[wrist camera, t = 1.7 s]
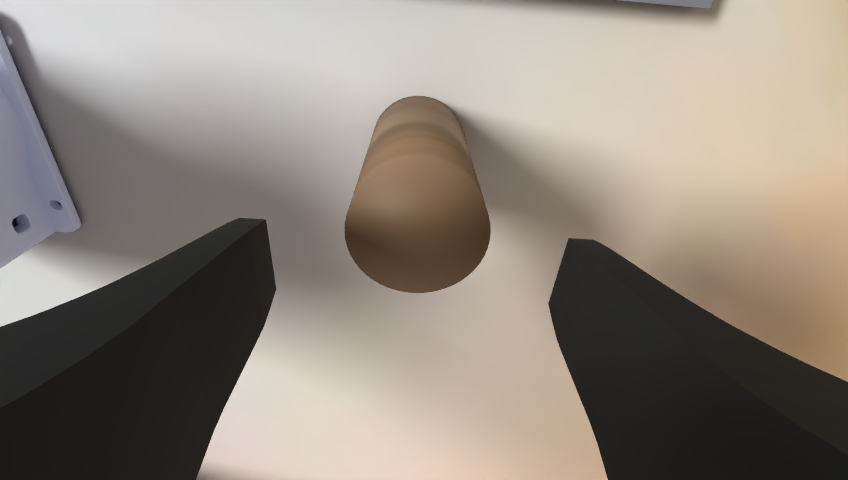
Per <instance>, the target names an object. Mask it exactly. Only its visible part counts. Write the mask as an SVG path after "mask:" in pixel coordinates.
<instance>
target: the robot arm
mask: <svg viewBox="0 0 848 480" xmlns="http://www.w3.org/2000/svg"><path fill="white" fill-rule="evenodd" d="M57 201H58V202H59V203H60V204H61V205H62V206H61V205H60V204H58V203H57ZM80 226H81V222H80V219H79V217H78V214H77V212H76V209H75V207H74V205H73V202H72V200H71V198H70V195H69V193H68V190H67V188H66V186H65V183H64V181H63V178H62V176H61V174H60V171H59V169H58V167H57V164H56V162H55V159H54V157H53V155H52V152H51V150H50V147H49V145H48V143H47V140H46V138H45V136H44V133H43V131H42V128H41V126H40V124H39V121H38V119H37V116H36V114H35V112H34V109H33V107H32V105H31V102H30V100H29V97H28V95H27V93H26V90H25V88H24V85H23V83H22V81H21V78H20V76H19V74H18V71H17V69H16V66H15V64H14V62H13V59H12V57H11V54H10V52H9V50H8V47H7V45H6V43H5V40H4V38H3V35H2V33H1V31H0V268H2V267H3V266H5V265H6V264H8V263H9V262H11V261H12V260H14V259H15V258H17V257H18V256H20V255H21V254H23V253H24V252H26V251H27V250H29V249H30V248H32V247H33V246H35V245H36V244H38V243H39V242H41V241H42V240H44V239H45V238H47V237H49V236H50V235H52V234H53V233H55V232H67V233H70V232H74V231H75V230H77V229H78V228H80ZM275 291H276V285H275V279H274V272H273V265H272V258H271V251H270V244H269V238H268V231H267V224H266V220H263V219H247V218H238V219H236V220H233V221H231V222H229V223H227V224H225V225H223V226H221V227H219V228H217V229H215V230H213V231H211V232H210V233H208V234H206V235H204V236H202V237H200V238H199V239H197V240H195V241H193V242H191V243H189V244H187V245H186V246H184V247H182V248H180V249H178V250H176V251H174V252H172V253H171V254H169V255H167V256H165V257H163V258H161V259H159V260H157V261H155V262H153V263H151V264H149V265H147V266H145V267H143V268H141V269H139V270H137V271H135V272H133V273H131V274H129V275H127V276H125V277H123V278H121V279H119V280H117V281H115V282H113V283H110V284H108V285H106V286H104V287H102V288H99V289H97V290H95V291H92V292H90V293H88V294H86V295H83V296H81V297H78V298H76V299H73V300H71V301H69V302H66V303H64V304H61V305H59V306H56V307H54V308H51V309H49V310H46V311H44V312H41V313H38V314H36V315H33V316H30V317H28V318H25V319H22V320H19V321H16V322H13V323H10V324H7V325H5V326H2V327H0V480H196V478H197V475H198V472H199V470H200V467H201V464H202V461H203V459H204V456H205V453H206V451H207V448H208V445H209V443H210V440H211V437H212V435H213V432H214V429H215V427H216V425H217V423H218V420H219V418H220V416H221V413H222V411H223V409H224V407H225V405H226V403H227V401H228V399H229V397H230V395H231V393H232V391H233V389H234V387H235V385H236V383H237V381H238V378H239V376H240V374H241V372H242V370H243V368H244V366H245V364H246V362H247V360H248V358H249V356H250V354H251V352H252V350H253V348H254V346H255V344H256V342H257V340H258V338H259V336H260V333H261V331H262V329H263V327H264V325H265V322H266V319H267V316H268V313H269V310H270V307H271V304H272V301H273V297H274V294H275ZM548 304H549V308H550V313H551V317H552V322H553V326H554V330H555V334H556V337H557V341H558V343H559V346H560V349H561V351H562V354H563V356H564V359H565V361H566V364H567V367H568V369H569V372H570V374H571V376H572V379H573V381H574V384H575V386H576V389H577V391H578V394H579V396H580V399H581V401H582V404H583V406H584V409H585V411H586V414H587V416H588V419H589V421H590V424H591V426H592V429H593V432H594V435H595V438H596V440H597V443H598V447H599V450H600V453H601V457H602V460H603V464H604V467H605V471H606V474H607V478H608V480H848V382H846V381H844V380H842V379H840V378H837V377H835V376H833V375H831V374H829V373H826V372H824V371H822V370H820V369H817V368H815V367H813V366H811V365H809V364H806V363H804V362H802V361H800V360H798V359H796V358H794V357H792V356H790V355H788V354H786V353H783V352H781V351H779V350H777V349H775V348H774V347H772V346H770V345H768V344H766V343H764V342H762V341H760V340H758V339H756V338H754V337H752V336H750V335H749V334H747V333H745V332H743V331H741V330H739V329H737V328H735V327H734V326H732V325H730V324H728V323H726V322H725V321H723V320H721V319H719V318H718V317H716V316H714V315H713V314H711V313H709V312H708V311H706V310H704V309H703V308H701V307H699V306H698V305H696V304H694V303H693V302H691V301H689V300H688V299H686V298H685V297H683V296H681V295H680V294H678V293H677V292H675V291H673V290H672V289H670V288H669V287H667V286H666V285H664V284H663V283H661V282H660V281H658V280H656V279H655V278H653V277H652V276H650V275H649V274H647V273H646V272H644V271H643V270H641V269H640V268H638V267H637V266H635V265H634V264H632V263H631V262H629V261H628V260H626V259H625V258H623V257H622V256H620V255H619V254H617V253H616V252H614V251H612V250H611V249H609V248H608V247H606V246H604V245H602V244H601V243H599V242H597V241H595V240H588V239H571V238H569V239H568V242H567V245H566V249H565V252H564V255H563V258H562V262H561V265H560V268H559V271H558V274H557V278H556V281H555V284H554V287H553V291H552V294H551V297H550V300H549V303H548Z"/></svg>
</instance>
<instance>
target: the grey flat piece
mask: <svg viewBox="0 0 848 480" xmlns="http://www.w3.org/2000/svg"><path fill="white" fill-rule="evenodd" d="M618 1H628V2H639V3H650V4H661V5H671V6H682V7H693V8H708V9H710V8H711V5H712V2H713V0H618Z"/></svg>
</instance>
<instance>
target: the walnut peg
mask: <svg viewBox="0 0 848 480" xmlns="http://www.w3.org/2000/svg"><path fill="white" fill-rule="evenodd" d="M345 240H346V244H347V247H348V250H349V252H350V255H351V256H352V258H353V260H354V261H355V263H356V264H357V265H358V267H359V268H360V269H361V270H362V271H363V272H364V273H365V274H366V275H367V276H369V277H370V278H371V279H373V280H374V281H376V282H378V283H379V284H382V285H384V286H386V287H388V288H391V289H395V290H398V291H403V292H411V293H424V292H432V291H437V290H441V289H444V288H447V287H449V286H452V285H454V284H456V283H458V282H459V281H461V280H463V279H464V278H465V277H467V276H468V275H469V274H470V273H471V272H472V271H473V270H474V269H475V268H476V267H477V266H478V265H479V263H480V262H481V260H482V259H483V257H484V255H485V253H486V251H487V248H488V244H489V241H490V221H489V216H488V212H487V209H486V206H485V203H484V199H483V196H482V193H481V189H480V186H479V183H478V180H477V176H476V173H475V170H474V167H473V163H472V160H471V157H470V153H469V150H468V147H467V144H466V140H465V137H464V134H463V130H462V127H461V125H460V122H459V120H458V118H457V117H456V115H455V114H454V113H453V111H452V110H451V109H450V108H449V107H447V106H446V105H445V104H443V103H442V102H440V101H438V100H436V99H433V98H430V97H425V96H412V97H407V98H403V99H401V100H398V101H396V102H395V103H393V104H392V105H390V106H389V107H388V108H387V109H386V110H385V111H384V112H383V113H382V115H381V116H380V118H379V119H378V121H377V124H376V126H375V129H374V132H373V135H372V138H371V142H370V145H369V148H368V151H367V154H366V157H365V160H364V163H363V166H362V169H361V172H360V175H359V179H358V182H357V185H356V188H355V191H354V194H353V197H352V200H351V203H350V206H349V209H348V213H347V216H346V221H345Z"/></svg>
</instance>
